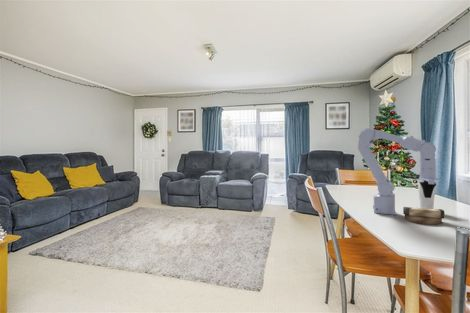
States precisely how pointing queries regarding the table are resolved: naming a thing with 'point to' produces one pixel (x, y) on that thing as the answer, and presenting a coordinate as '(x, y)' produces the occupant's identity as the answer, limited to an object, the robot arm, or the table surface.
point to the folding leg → (423, 212)
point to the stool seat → (424, 220)
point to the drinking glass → (425, 202)
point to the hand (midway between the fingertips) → (427, 197)
